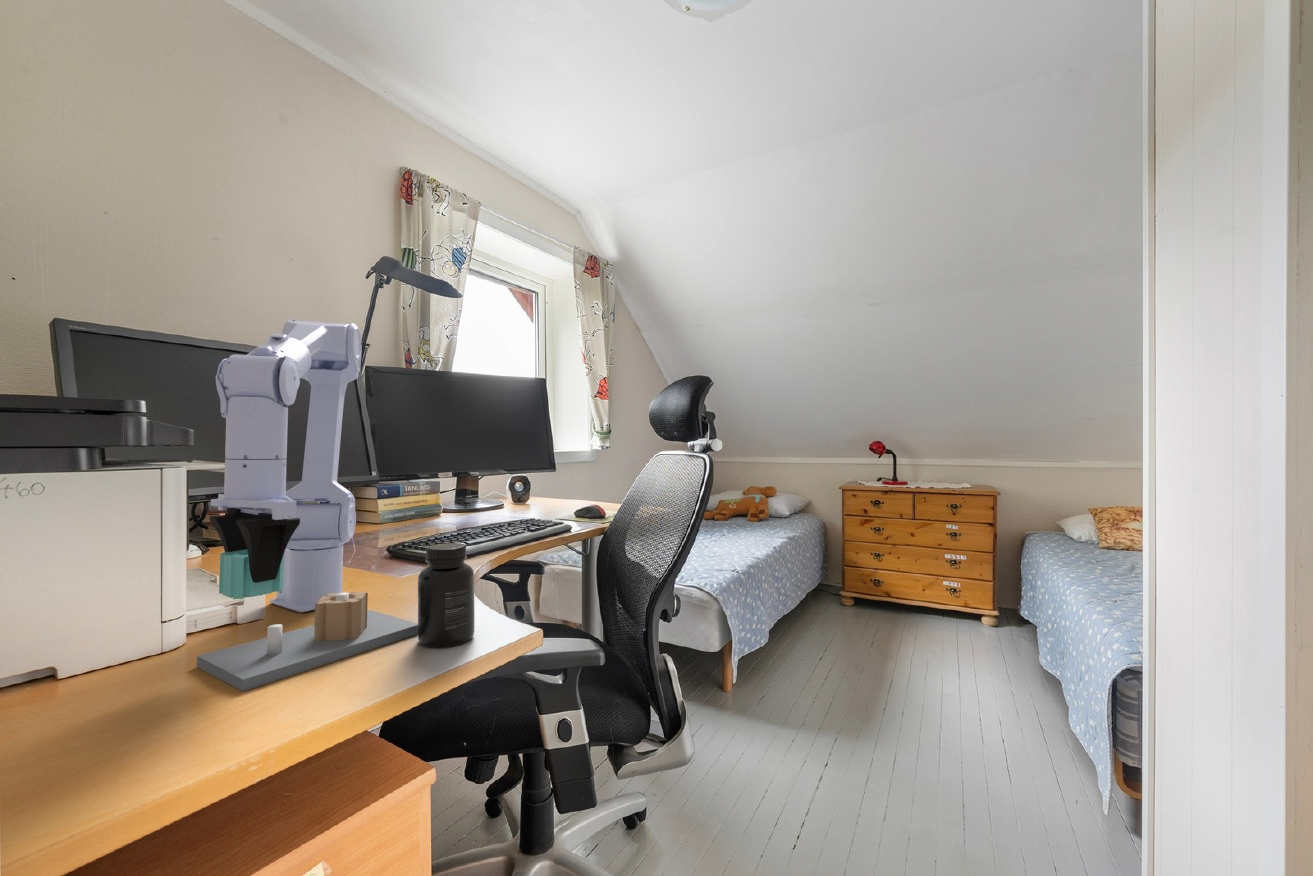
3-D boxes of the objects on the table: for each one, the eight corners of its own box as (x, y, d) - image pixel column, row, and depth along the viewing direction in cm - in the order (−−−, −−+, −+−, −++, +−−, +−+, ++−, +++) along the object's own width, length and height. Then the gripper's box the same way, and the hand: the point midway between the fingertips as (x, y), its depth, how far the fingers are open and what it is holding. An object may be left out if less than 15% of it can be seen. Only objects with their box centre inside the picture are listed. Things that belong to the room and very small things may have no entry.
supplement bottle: (477, 628, 73) (478, 540, 73) (470, 647, 66) (471, 550, 67) (423, 632, 72) (424, 542, 72) (411, 651, 65) (412, 552, 65)
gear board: (196, 666, 60) (198, 611, 60) (371, 618, 77) (372, 575, 77) (242, 691, 54) (244, 630, 54) (419, 633, 71) (420, 587, 71)
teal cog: (216, 592, 61) (217, 553, 61) (265, 583, 65) (267, 546, 65) (235, 600, 58) (236, 558, 58) (285, 590, 62) (286, 551, 62)
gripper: (187, 457, 62) (184, 575, 62) (244, 461, 55) (240, 595, 55) (257, 457, 68) (254, 564, 68) (317, 460, 61) (314, 580, 61)
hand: (253, 577), depth 62 cm, fingers closed on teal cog, 5 cm apart
